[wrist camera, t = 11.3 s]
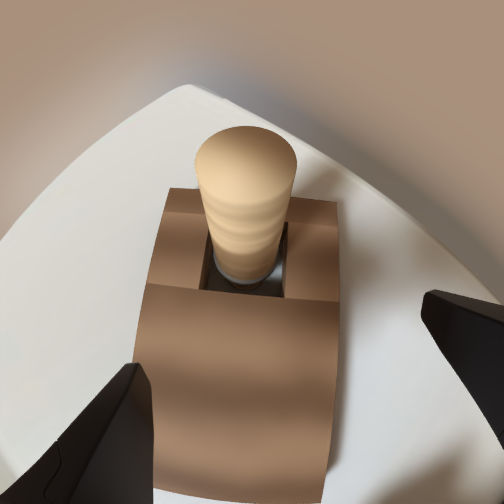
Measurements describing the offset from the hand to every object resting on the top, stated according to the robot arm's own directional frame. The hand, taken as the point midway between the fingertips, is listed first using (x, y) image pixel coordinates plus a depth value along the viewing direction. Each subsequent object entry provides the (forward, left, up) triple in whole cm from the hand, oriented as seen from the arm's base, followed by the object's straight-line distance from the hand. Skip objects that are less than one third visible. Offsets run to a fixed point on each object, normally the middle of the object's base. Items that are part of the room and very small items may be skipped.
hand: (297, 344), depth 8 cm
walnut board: (+1, +2, -13) cm, 13 cm away
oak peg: (+7, +2, -13) cm, 15 cm away
